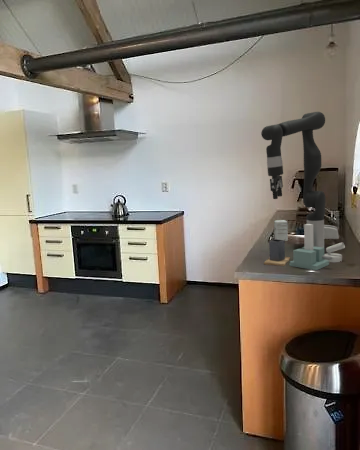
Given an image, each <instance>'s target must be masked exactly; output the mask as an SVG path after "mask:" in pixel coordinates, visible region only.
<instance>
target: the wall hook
mask: <svg viewBox="0 0 360 450" xmlns="http://www.w3.org/2000/svg"><path fill="white" fill-rule="evenodd" d="M345 248H346V246H345V244H344V242H339V243H336V244H333V245H331V246H327V247H326V248H325V252H326V253H324V256H331V257H332V259H331V260H327V259H324V260H327V261H329V263H341V262H342V261H343V254H341V253H334V252H336V251H340V250H343V249H345ZM340 261H341V262H340Z"/></svg>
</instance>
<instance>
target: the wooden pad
mask: <svg viewBox="0 0 360 450" xmlns="http://www.w3.org/2000/svg"><path fill="white" fill-rule="evenodd" d="M290 261H291V257H290V256H285V260H282V261H279V262H278V261H272V260H270V257H268V258H267V259H266V260H265V261H263V265H265V266H281V267H282V266H283V267H285V266H286V265H287V263H288V262H290Z"/></svg>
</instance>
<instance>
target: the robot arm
mask: <svg viewBox="0 0 360 450" xmlns="http://www.w3.org/2000/svg"><path fill="white" fill-rule="evenodd" d="M325 123H326V116H325V114H324V113H323V112H320V111H313V112H307V113H305V114H303V115H302V117H301V118H296V119H292V120H291V119H290V120H287V121H283V122H280V123H276V124H272V125H266V126H265V127H263V128H262V130H261V132H260V133H261V137H262V139H263V140H265V141H271V142H270V144H269V145H267V146H266V151H265V152H266V166H267V168H266V169H267V175H268V177H271V178H270V179H269V183H270V184H269V185H270V191H271V192H272V198H273V200H278V198H279V197H282V196H283V191H282V190H283V187H284V185H283V174H284V166H283V164H284V163H283V157H282V149H281V147H282V143H283V142H282V141H283V137H288V136H291V135H294V134H296V133H300V132H301V134H302V135H301V136H302V143H303V144H302V145H303V148H302V149H303V176H304V177H303V191H302V192H303V194H302V195H303V197H302V200H303V201H302V202H303V205H304V207H306V208H311V209H312V208H314V209H315V211H313V212H311V213H308V214H307V215H306V224H313V246H314V247H322V248H324V249H325V239H324V225H325V215H326V214H325V213H326V195H325V194H326V193H325V192H324V191H323V190H313V186H314V182H315V179H316V177H317V176H318V174H319V172H320V171H321V168H322V153H321V151H320V148H319V147H318V145H317V144H316V142H315V139H314V131H316V130H320V129H322V128H323V127H324V125H325Z"/></svg>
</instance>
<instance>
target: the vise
mask: <svg viewBox="0 0 360 450" xmlns="http://www.w3.org/2000/svg"><path fill="white" fill-rule="evenodd" d="M303 226H304V227H303V229H304V230H303V231H304V232H303V233H304V235H303V238H304V240H303V241H304V245H303V246H302V247H301V248H297V249H293V250H292V252H293V253H292V254H293V257H292V258H293V260H289V261H288V262H289V267H293V268H294V267H296V268H301V269H306V270H311V271H312V270H313V271H318V270H320V269H322V268H325V267H327V266H329V265H330V262H329V261H327V260H331V259H332V257H331V256H324V254H325V247H324V248H322V247H314V246H313V224H307V223H306V224H305V223H304V224H303ZM324 259H327V260H324Z"/></svg>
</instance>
